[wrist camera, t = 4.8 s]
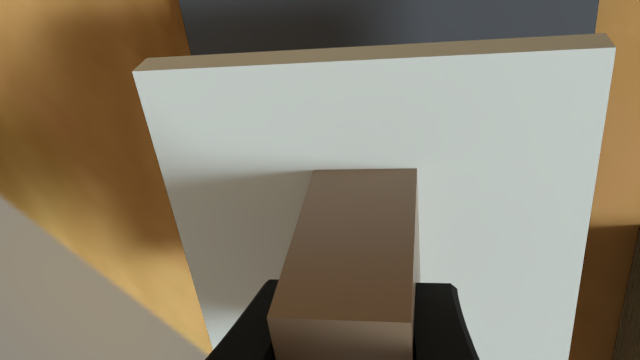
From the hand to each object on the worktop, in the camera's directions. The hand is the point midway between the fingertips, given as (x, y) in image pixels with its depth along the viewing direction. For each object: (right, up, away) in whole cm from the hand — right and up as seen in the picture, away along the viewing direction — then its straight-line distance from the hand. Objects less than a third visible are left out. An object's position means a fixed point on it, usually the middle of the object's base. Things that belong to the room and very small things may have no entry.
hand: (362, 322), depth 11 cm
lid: (+1, +2, +3) cm, 3 cm away
